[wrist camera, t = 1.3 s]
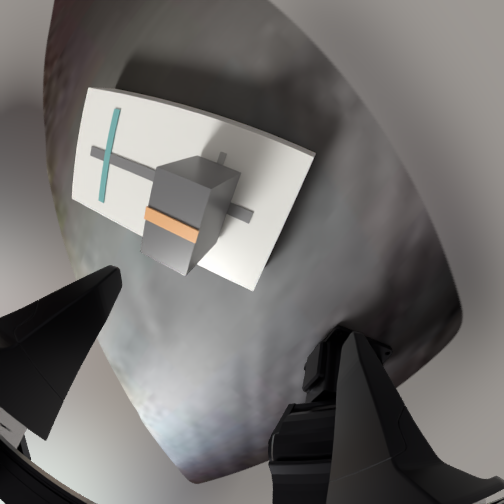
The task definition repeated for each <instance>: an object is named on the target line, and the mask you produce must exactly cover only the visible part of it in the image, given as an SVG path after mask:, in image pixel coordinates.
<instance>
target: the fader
mask: <svg viewBox="0 0 504 504" xmlns="http://www.w3.org/2000/svg"><path fill="white" fill-rule="evenodd" d="M240 175H241V172H238V171H236V170H233V169H231V168H228V167H226V166H223V165H221V164H218V163H216V162H213V161H211V160H208V159H205V158H203V157H200V156H198V155H197V156H193V157H189V158H186V159H182V160H178V161H175V162H171V163H168V164H164V165H161V166H158V167H156V171H155V176H154V180H153V185H152V189H151V194H150V199H149V204H148V206H146V210H145V215H144V219H145V225H144V231H143V237H142V243H141V250H140V252H141V253H143V254H145V255H147V256H148V257H150V258H152V259H154V260H156V261H158V262H160V263H161V264H163V265H165V266H167V267H169V268H171V269H173V270H175V271H177V272H179V273H181V274H183V275H185V276H186V275H187V274H188V273H189V272H190V271H191V270H192V269H193V268H194V267H195V265H196V264H197V263H198V262H199V261H200V260H201V259H202V258H203V257H204V256H205V255H206V254H207V253H208V251H209V250H210V249H211V248H212V247H213V246H214V245H215V244H216V243H217V240H218V237H219V234H220V231H221V229H222V226H223V223H224V220H225V217H226V214H227V211H228V208H229V206H230V203H231V200H232V197H233V194H234V192H235V189H236V186H237V183H238V180H239V178H240Z"/></svg>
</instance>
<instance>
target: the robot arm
mask: <svg viewBox="0 0 504 504" xmlns="http://www.w3.org/2000/svg"><path fill="white" fill-rule="evenodd" d="M121 288H122V279H121V273H120V269H119V268H118V267H115V266H113V265H109V266H107V267H104V268H102V269H100V270H98V271H96V272H94V273H92V274H90V275H87V276H85V277H83V278H81V279H79V280H77V281H75V282H73V283H71V284H69V285H67V286H65V287H63V288H61V289H59V290H57V291H55V292H53V293H51V294H49V295H47V296H45V297H43V298H41V299H39V301H38V300H37V301H35V302H33V303H31V304H29V305H27V306H25V307H23V308H21V309H19V310H17V311H15V312H12V313H10V314H8V315H5V316H3V317H1V318H0V499H1V500H2V501H3V502H4V503H5V504H96V503H94V502H93V501H90V500H89V499H87V498H85V497H84V496H82V495H80V494H78V493H77V492H75V491H73V490H72V489H70V488H69V487H67V486H65V485H64V484H62V483H61V482H59V481H58V480H56V479H55V478H53V477H52V476H51V475H49V474H48V473H46V472H45V471H44V470H42V469H41V468H40V467H38V466H37V465H36V464H34V463H33V462H32V461H31V457H30V454H29V450H28V447H27V443H26V439H25V435H24V433H25V431H26V429H27V428H28V429H29V430H30V431H32V432H33V433H35V434H36V435H38V436H39V437H41V438H42V439H44V440H46V439H47V438H48V435H49V433H50V430H51V428H52V426H53V424H54V421H55V419H56V417H57V415H58V412H59V410H60V408H61V406H62V403H63V400H64V399H65V397H66V395H67V393H68V391H69V389H70V387H71V385H72V383H73V381H74V379H75V377H76V375H77V373H78V371H79V369H80V367H81V365H82V363H83V361H84V360H85V358H86V356H87V354H88V352H89V350H90V348H91V347H92V345H93V343H94V341H95V339H96V338H97V336H98V334H99V332H100V331H101V329H102V327H103V325H104V324H105V322H106V320H107V318H108V316H109V314H110V312H111V310H112V307H113V305H114V303H115V301H116V299H117V297H118V295H119V293H120V290H121ZM337 331H341V332H337ZM387 351H389V352H387ZM391 355H392V348H391V347H389V346H387V345H384V344H382V343H379V342H377V341H375V340H372V339H370V338H368V337H365V335H364V334H363V333H360V332H355V331H354V332H353V331H351V330H349V329H347V328H344V327H342V326H336V327H335V328H334V329H333V330H332V331H331V333H330V334H329V335H328V336H327V338H326V339H325V340H324V341H322V342H320V343H319V344H318V345H317V347H316V348H315V349H314V351H313V352H312V353H311V354H310V355H309V357H308V359H307V363H306V364H305V366H304V370H305V376H304V382H303V387H302V389H303V391H304V392H306V393H307V395H306V401H305V403H302V404H295V403H294V404H289V405H288V407H287V408H286V410H285V412H284V414H283V416H282V417H281V419H280V421H279V423H278V424H277V426H276V428H275V429H274V431H273V433H272V435H271V437H270V439H269V442H268V444H269V446H268V455H269V460H270V461H269V468H270V471H271V474H272V481H273V504H486V498H487V497H489V496H491V495H493V494H495V493H497V492H498V491H501V490H502V489H504V480H503V479H501V478H500V477H498V476H495V477H492V478H490V479H481V478H478V477H475V476H473V475H471V474H468V473H466V472H464V471H461V470H459V469H456V468H454V467H452V466H450V465H447V464H446V463H444V462H443V461H441V460H440V459H439V458H438V457H437V455H436V454H435V452H434V451H433V449H432V448H431V446H430V445H429V443H428V442H427V440H426V439H425V437H424V436H423V434H422V433H421V431H420V430H419V428H418V426H417V425H416V423H415V421H414V420H413V418H412V416H411V414H410V413H409V411H408V409H407V407H406V406H404V405H405V404H404V402H403V400H402V398H401V397H400V395H399V393H398V391H397V390H396V388H395V386H394V384H393V383H392V381H391V379H390V377H389V376H388V374H387V372H386V370H385V369H384V367H383V363H384V362H385V361H386V360H387V359H388V358H389V357H390V356H391ZM487 504H504V497H502V498H500V499H498V500H495V501H493V502H490V503H487Z"/></svg>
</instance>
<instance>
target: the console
mask: <svg viewBox="0 0 504 504" xmlns="http://www.w3.org/2000/svg"><path fill="white" fill-rule="evenodd" d="M315 154H316V153H314V152H312V151H310V150H308V149H306V148H303V147H301V146H299V145H296V144H294V143H292V142H289V141H287V140H284V139H282V138H280V137H277V136H275V135H272V134H270V133H267V132H264V131H262V130H259V129H256V128H254V127H251V126H248V125H246V124H243V123H240V122H237V121H234V120H231V119H228V118H225V117H222V116H219V115H216V114H213V113H210V112H207V111H204V110H200V109H197V108H193V107H190V106H187V105H183V104H179V103H176V102H172V101H168V100H164V99H160V98H156V97H152V96H148V95H143V94H139V93H134V92H129V91H124V90H119V89H114V88H88V92H87V97H86V101H85V105H84V110H83V115H82V120H81V125H80V131H79V137H78V143H77V150H76V158H75V167H74V177H73V189H72V199H74V200H76V201H78V202H79V203H81V204H83V205H85V206H87V207H88V208H90V209H92V210H94V211H96V212H98V213H99V214H101V215H103V216H105V217H107V218H109V219H110V220H112V221H114V222H116V223H118V224H120V225H122V226H124V227H125V228H127V229H129V230H131V231H133V232H135V233H137V234H139V235H141V236H142V237H143V231H144V225H145V219H144V215H145V210H146V206H148V204H149V199H150V194H151V189H152V185H153V180H154V176H155V171H156V167H158V166H161V165H164V164H168V163H171V162H175V161H178V160H182V159H186V158H189V157H193V156H197V155H198V156H200V157H203V158H205V159H208V160H211V161H213V162H216V163H218V164H221V165H223V166H226V167H228V168H231V169H233V170H236V171H238V172H241V175H240V178H239V180H238V183H237V186H236V189H235V192H234V194H233V197H232V200H231V203H230V206H229V208H228V211H227V214H226V217H225V220H224V223H223V226H222V229H221V231H220V234H219V237H218V240H217V243H216V244H215V245H214V246H213V247H212V248H211V249H210V250H209V251H208V253H207V254H206V255H205V256H204V257H203V258H202V259H201V260H200V261H199V262H198V263H197V264H198V265H200V266H202V267H204V268H206V269H208V270H210V271H212V272H214V273H216V274H218V275H220V276H222V277H224V278H226V279H228V280H230V281H233V282H235V283H237V284H239V285H241V286H243V287H245V288H247V289H249V290H252V291H253V290H254V288H255V286H256V284H257V282H258V280H259V277H260V275H261V273H262V271H263V269H264V267H265V265H266V263H267V260H268V258H269V256H270V254H271V252H272V250H273V247H274V245H275V243H276V241H277V239H278V237H279V234H280V232H281V230H282V228H283V226H284V224H285V221H286V219H287V217H288V215H289V213H290V210H291V208H292V206H293V204H294V201H295V199H296V197H297V195H298V193H299V190H300V188H301V186H302V184H303V181H304V179H305V177H306V175H307V172H308V170H309V168H310V166H311V163H312V161H313V159H314V157H315Z"/></svg>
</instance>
